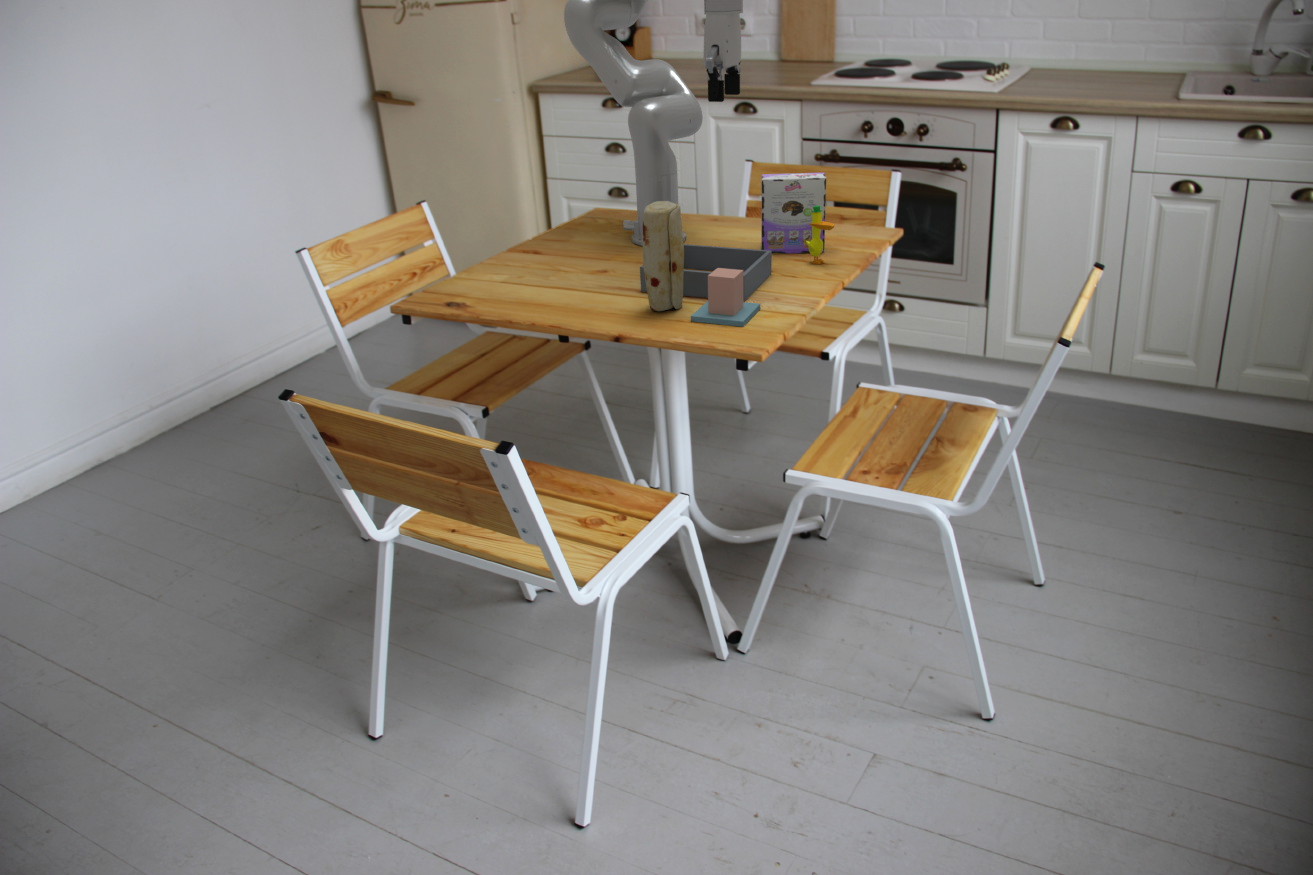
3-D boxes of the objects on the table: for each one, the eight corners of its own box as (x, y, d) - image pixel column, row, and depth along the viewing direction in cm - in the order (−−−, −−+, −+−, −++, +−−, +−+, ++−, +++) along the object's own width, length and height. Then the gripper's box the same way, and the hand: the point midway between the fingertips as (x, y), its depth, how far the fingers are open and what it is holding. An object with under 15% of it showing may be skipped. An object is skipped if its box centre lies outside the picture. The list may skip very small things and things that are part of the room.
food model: (664, 297, 189) (660, 195, 180) (694, 302, 186) (691, 198, 177) (636, 313, 182) (631, 206, 173) (667, 318, 179) (662, 210, 170)
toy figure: (836, 263, 205) (839, 206, 199) (827, 267, 202) (829, 210, 197) (809, 258, 209) (811, 202, 203) (800, 262, 206) (801, 206, 201)
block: (708, 312, 178) (707, 275, 175) (718, 304, 182) (717, 267, 179) (734, 315, 176) (733, 278, 173) (743, 306, 180) (743, 270, 177)
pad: (690, 321, 177) (690, 316, 177) (709, 303, 185) (709, 298, 185) (743, 326, 173) (743, 321, 173) (760, 308, 181) (760, 303, 181)
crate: (640, 291, 194) (639, 267, 191) (674, 266, 208) (673, 243, 206) (744, 301, 186) (744, 276, 183) (771, 274, 200) (771, 250, 198)
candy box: (822, 246, 217) (825, 171, 210) (824, 253, 212) (827, 177, 204) (760, 247, 218) (761, 172, 211) (760, 254, 213) (761, 178, 206)
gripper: (720, 3, 197) (721, 92, 205) (689, 9, 183) (691, 104, 191) (755, 2, 194) (755, 92, 202) (727, 8, 180) (727, 105, 188)
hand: (724, 98), depth 196 cm, fingers open, 9 cm apart
